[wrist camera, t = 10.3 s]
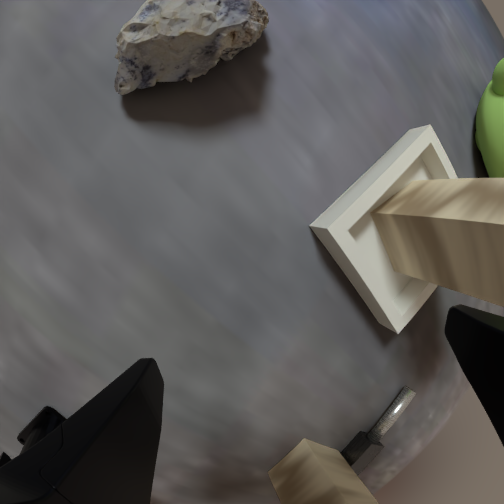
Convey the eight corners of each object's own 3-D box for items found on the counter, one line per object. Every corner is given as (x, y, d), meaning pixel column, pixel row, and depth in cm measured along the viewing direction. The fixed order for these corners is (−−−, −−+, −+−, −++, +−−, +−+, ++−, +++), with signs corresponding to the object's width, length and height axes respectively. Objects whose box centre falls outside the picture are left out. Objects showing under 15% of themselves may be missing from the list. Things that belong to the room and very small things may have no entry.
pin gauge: (345, 464, 25) (355, 477, 22) (331, 462, 24) (341, 476, 22) (409, 387, 25) (423, 397, 23) (398, 381, 24) (412, 392, 22)
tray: (378, 323, 22) (398, 334, 20) (309, 225, 20) (327, 228, 17) (457, 225, 23) (477, 227, 21) (409, 129, 21) (430, 124, 18)
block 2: (394, 272, 21) (546, 323, 9) (369, 212, 20) (544, 229, 7) (433, 236, 22) (573, 262, 9) (413, 179, 21) (567, 177, 8)
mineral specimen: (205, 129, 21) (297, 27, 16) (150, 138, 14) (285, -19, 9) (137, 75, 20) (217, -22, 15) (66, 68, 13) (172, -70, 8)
